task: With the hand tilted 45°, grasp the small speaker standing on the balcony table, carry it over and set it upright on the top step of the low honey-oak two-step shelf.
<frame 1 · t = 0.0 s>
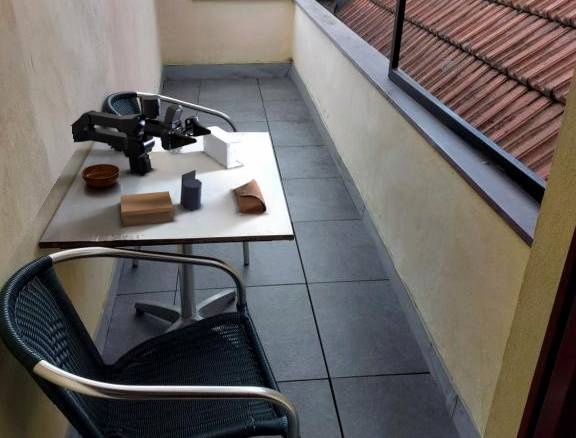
hand: (204, 136, 172), 17 cm above the table, tool horizontal, fingers open, 9 cm apart
sunglasses case: (248, 202, 169), on the table
speaker: (193, 206, 165), on the table
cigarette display: (221, 158, 201), on the table
shelf: (147, 212, 161), on the table
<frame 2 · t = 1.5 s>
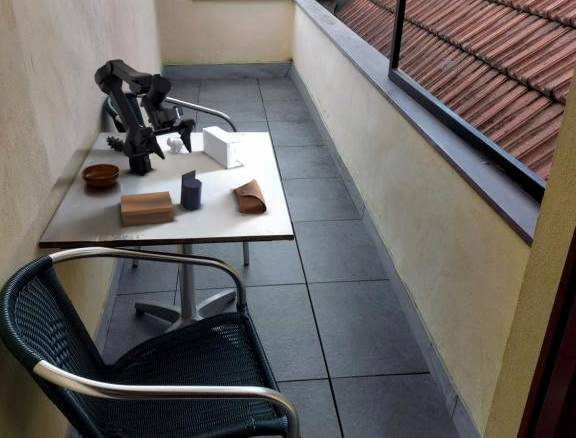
hand: (177, 155, 164), 14 cm above the table, tool tilted 45°, fingers open, 9 cm apart
nothing on the table moved.
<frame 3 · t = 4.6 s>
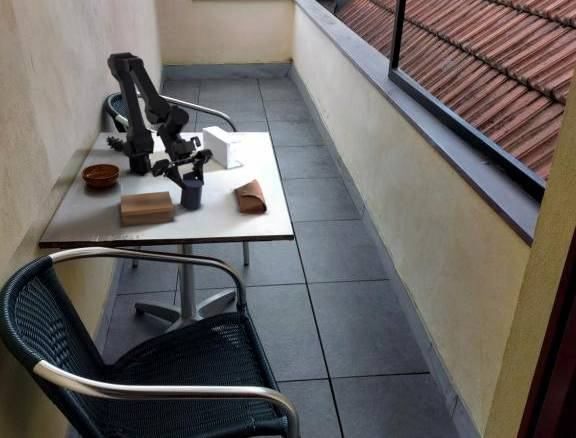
hand: (194, 187, 161), 7 cm above the table, tool tilted 45°, fingers closed on speaker, 6 cm apart
speaker: (193, 206, 165), on the table, touching gripper
everything else where it was.
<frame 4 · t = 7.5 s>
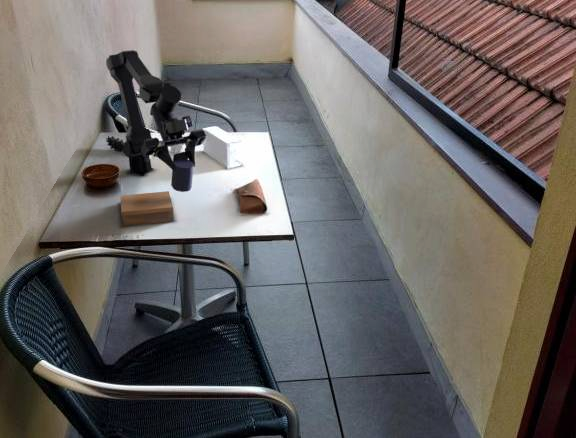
hand: (184, 168, 157), 13 cm above the table, tool tilted 45°, fingers closed on speaker, 6 cm apart
speaker: (183, 188, 161), point 6 cm above the table, touching gripper
everything else where it was.
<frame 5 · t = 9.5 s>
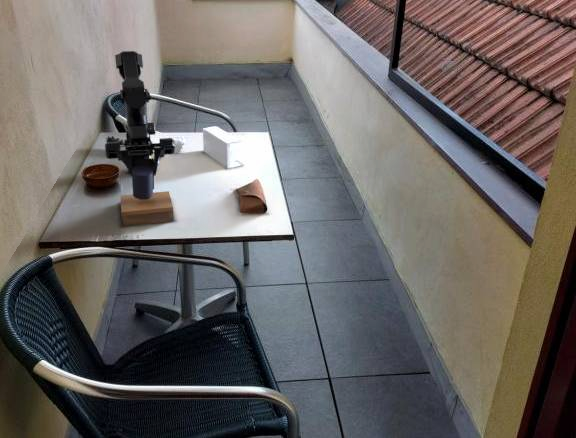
hand: (143, 176, 152), 13 cm above the table, tool tilted 45°, fingers closed on speaker, 6 cm apart
speaker: (145, 195, 156), point 6 cm above the table, touching gripper
everything else where it was.
when the fingers open (11 cm above the table, at t = 10.7 s): speaker stays where it is, resting on shelf.
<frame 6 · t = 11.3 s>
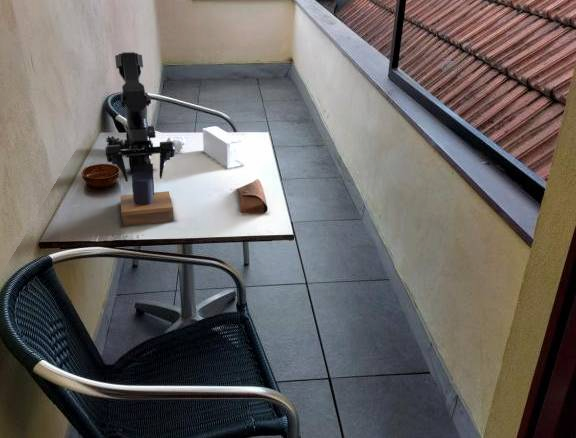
hand: (144, 179, 152), 12 cm above the table, tool tilted 45°, fingers open, 9 cm apart
speaker: (146, 201, 157), point 4 cm above the table, touching shelf
everything else where it was.
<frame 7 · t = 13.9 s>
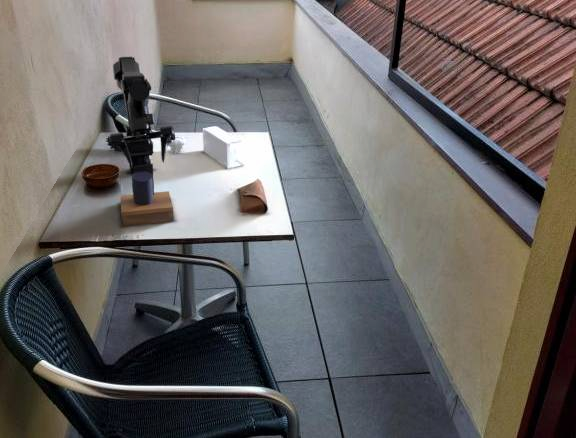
hand: (147, 164, 161), 12 cm above the table, tool tilted 40°, fingers open, 9 cm apart
nothing on the table moved.
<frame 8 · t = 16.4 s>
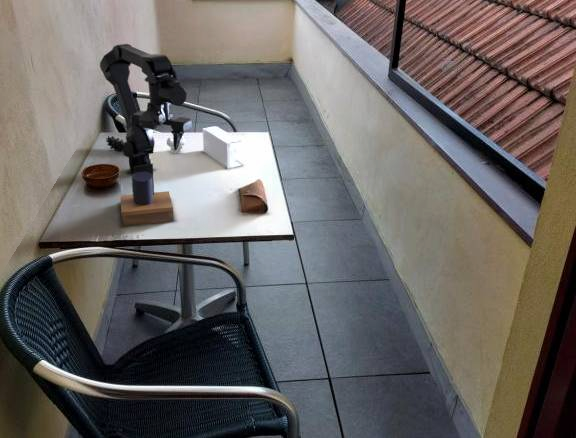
hand: (163, 147, 172), 13 cm above the table, tool pointing down, fingers open, 9 cm apart
at the end: speaker inside the target area on the shelf (0.2 cm from its centre), point 4.3 cm above the shelf's base; speaker tilted 0°; the gripper is holding nothing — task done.
